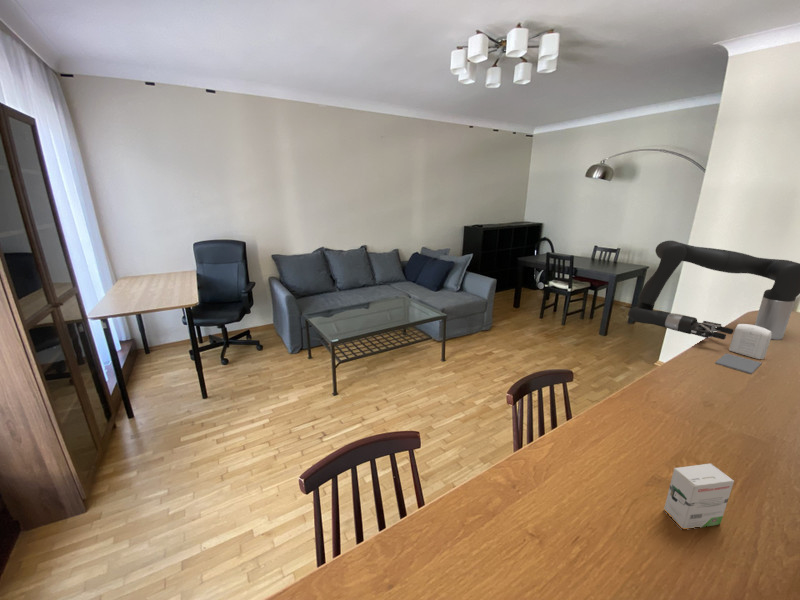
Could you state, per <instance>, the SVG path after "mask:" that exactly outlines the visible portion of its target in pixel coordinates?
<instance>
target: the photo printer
mask: <svg viewBox="0 0 800 600" xmlns="http://www.w3.org/2000/svg"><path fill="white" fill-rule="evenodd" d="M732 334H733V335H732V338H731V341H730V345H729V347H728V350H729V352H733V353H736V354H739V355H743V356H745V357H750V358H753V359H757V360H760V359H763V360H764V359H765V358H766V355H767V351H768V349H769V345H770V343H771V340H772V339H771V336H772V335H771V334H772V332H771V331H769V330H767V329H765V328H762V327H759V326H756V325H755V324H748V323H738V324H737V325H736V327H735V328H734V330H733V333H732Z"/></svg>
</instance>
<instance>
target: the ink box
mask: <svg viewBox="0 0 800 600" xmlns="http://www.w3.org/2000/svg"><path fill="white" fill-rule="evenodd" d="M734 483H735V480H734V479H732V478H731V477H730V476H728V475H727V474H726V473H725V472H723V470H721V469H719V468H718V467H717V466H715V465H714V464H713V463H711V462H710V463H704V464H703V463H702V464H695V465H688V466H680V467H674V468H673V472H672V476H671V479H670V484H669V488H668V492H667V496H666V501H665V504H664V508H663V510H664V509H665V510H666V511H667V512H668V513H669V514H670V515H671V516H672V517H673V519H674V520H675V521H676V522H677V523H678V524H679V525H680V526H681V527H682V528H694V527H700V528H706V526H707V527H713V526H719V524H720V525H721V523H722V520H723V518H724V514H725V511H726V507H727V504H728V501H729V498H730V495H731V491H732V489H733V486H734ZM694 529H695V528H694Z"/></svg>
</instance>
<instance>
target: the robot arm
mask: <svg viewBox="0 0 800 600" xmlns="http://www.w3.org/2000/svg"><path fill="white" fill-rule="evenodd" d="M655 254H656V256H657V257H658V258H659V259H660V261H659V264H658V267H657V268H656V270H655V272H654V273H653V274H652V275H651V276H650V277H649V279H647V281H646V282H645V284H644V285H643V287H642V289H641V291H640V293H639V295H638V298H637V299H638V303H637V306H635V307H631V309H629V311H628V312H627V313H628V314H627V315H628V318H629V319H630V320H631V321H633V322H636V323H640V324H646V325H647V324H648V325H655V326H659V327H661V328H666V329H668V330H673V331H676V332H680V333H684V334H688V335H695V336H699V337H702V338H706V339H708V338H716V339H720V340H726V336H727V335H732V334H734V328H730V327H726V326H723V325H722V324H721V323H717V322H713V321H712V322H711V321H708V320H703V321H702V322H699V321H698V318H696V317H694V316H689V315H685V314H680V313H673V312H668V311H665V310H664V311H663V310H654V308H655V304H656V301H657V300H658V298H659V296H660V294H661V292H662V291H663V289H664V287H665V285H666V284H667V282H668V280H669V279H670V278H671V277H672V274H673V273H674V272H675V271H676V269H677V268H678V266H679V265H680V264H681V263H682V262H686V263H690V264H694V265H696V266H700V267H701V268H705V269H709V270H712V271H717V272H721V273H725V274H726V273H727V274H750V275H754V276H759V277H762V278H767V279H769V280H772V281H774V283H773V285H772V287H771V288H769V289H766V290H764V292H763V295H762V298H761V300H760V301H761V302H760V306H759V309H758V313H757V315H756V319H755V323H754V325H756V326H759V327H762V328H765V329H767V330H769V331H771V332H772V334H771V335H772V336H771V340H777V341H778V340H779V341H780V340H782V339H783V338H784V336H785V334H786V333H785V332H786V330H787V327H788V324H789V321H790V318H791V314H792V312H793V308H794V305H795V302H796V300H797V299H796V298H797V297H798V296H799V295H800V263H798V262H797V261H793V260H788V259H776V258H764V257H758V256H753V255H750V254H746V253H743V252H738V251H734V250H726V249H722V248H721V249H720V248H712V247H703V246H702V247H701V246H695V245H690V244H687V243H682V242H679V241H675V240H665V241H662V242H660V243H659V244H658V245H657V246H656V247H655Z"/></svg>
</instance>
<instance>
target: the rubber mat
mask: <svg viewBox="0 0 800 600" xmlns="http://www.w3.org/2000/svg"><path fill="white" fill-rule="evenodd" d="M715 363H716V364H715ZM714 364H715V365H718V364H719V365H718V366H721V365H722V367H725V368H729V369H732V370H736V371H738V370H739V371H740V372H741V373H746V374H749V375H752V374H753V373H754V372H756V370H757V369H758V368H759V367H760V366H761V365H762V362H760V361H757V360H752V359H748V358H745V357H742V356H738V355H734V354H732V353H731V354H730V353H725V354H723V355H721V357H720V358H718V359H717V360H716V361H715V362H714Z"/></svg>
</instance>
